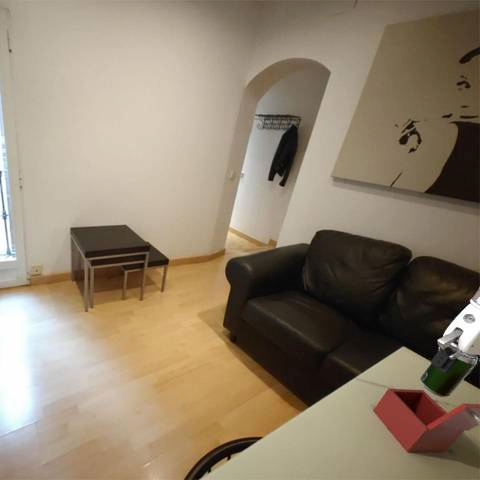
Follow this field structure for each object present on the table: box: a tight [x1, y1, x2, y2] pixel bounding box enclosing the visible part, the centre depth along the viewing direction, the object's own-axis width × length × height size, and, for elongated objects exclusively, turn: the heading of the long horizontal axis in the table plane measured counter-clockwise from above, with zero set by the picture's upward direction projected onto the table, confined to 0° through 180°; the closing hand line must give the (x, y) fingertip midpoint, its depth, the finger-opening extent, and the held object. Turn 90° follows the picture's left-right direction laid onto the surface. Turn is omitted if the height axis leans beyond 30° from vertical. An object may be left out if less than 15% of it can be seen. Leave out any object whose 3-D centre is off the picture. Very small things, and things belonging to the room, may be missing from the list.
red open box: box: [372, 388, 466, 453], centre depth 67 cm, size 10×11×9 cm
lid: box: [427, 403, 480, 431], centre depth 56 cm, size 11×11×5 cm
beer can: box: [420, 343, 478, 398], centre depth 62 cm, size 5×5×12 cm
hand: (449, 367), depth 61 cm, fingers closed on beer can, 5 cm apart
